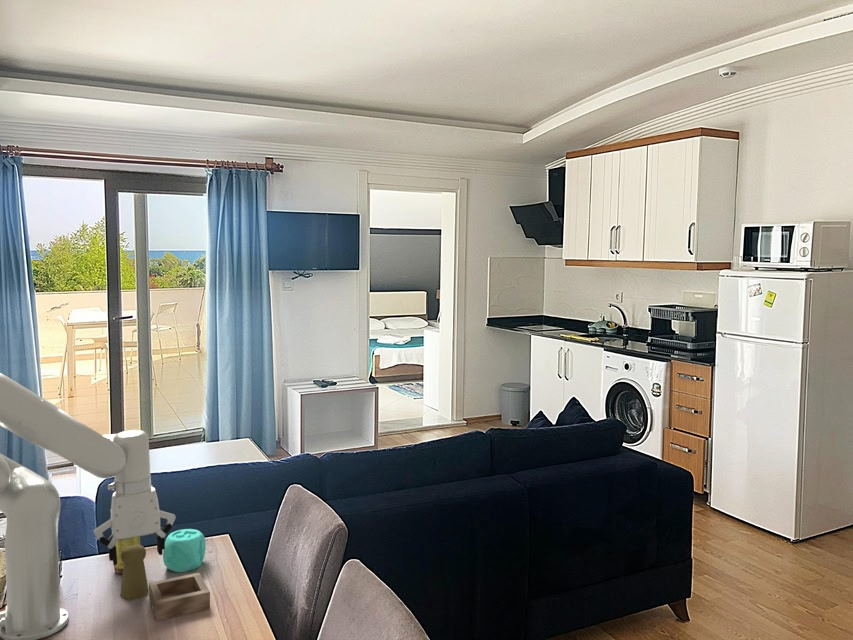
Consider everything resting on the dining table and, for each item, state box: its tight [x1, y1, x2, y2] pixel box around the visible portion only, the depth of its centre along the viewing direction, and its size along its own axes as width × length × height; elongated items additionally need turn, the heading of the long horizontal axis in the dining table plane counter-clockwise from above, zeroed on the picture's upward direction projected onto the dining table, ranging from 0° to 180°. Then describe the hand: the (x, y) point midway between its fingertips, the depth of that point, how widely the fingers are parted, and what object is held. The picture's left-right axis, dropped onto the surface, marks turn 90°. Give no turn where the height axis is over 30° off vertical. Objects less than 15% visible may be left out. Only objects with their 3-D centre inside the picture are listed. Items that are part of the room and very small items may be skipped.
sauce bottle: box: [112, 536, 141, 575], centre depth 171 cm, size 7×6×20 cm
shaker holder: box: [148, 572, 211, 622], centre depth 154 cm, size 11×11×4 cm
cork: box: [119, 544, 149, 601], centre depth 159 cm, size 6×6×11 cm
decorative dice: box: [162, 528, 206, 573], centre depth 174 cm, size 8×8×8 cm
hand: (137, 557), depth 159 cm, fingers open, 9 cm apart
